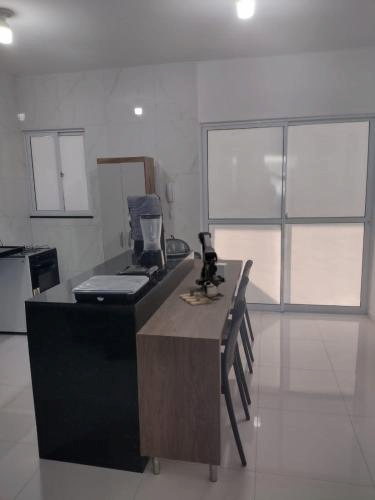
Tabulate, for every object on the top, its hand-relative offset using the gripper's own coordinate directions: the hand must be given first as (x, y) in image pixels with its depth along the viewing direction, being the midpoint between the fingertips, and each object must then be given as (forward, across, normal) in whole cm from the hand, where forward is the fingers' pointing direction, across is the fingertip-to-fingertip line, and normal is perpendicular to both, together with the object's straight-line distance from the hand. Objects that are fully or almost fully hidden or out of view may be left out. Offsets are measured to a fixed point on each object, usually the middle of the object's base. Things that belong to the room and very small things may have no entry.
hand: (210, 293), depth 239 cm
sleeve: (+1, 0, 0) cm, 1 cm away
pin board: (+1, -12, -4) cm, 13 cm away
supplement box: (+1, +25, +31) cm, 40 cm away
